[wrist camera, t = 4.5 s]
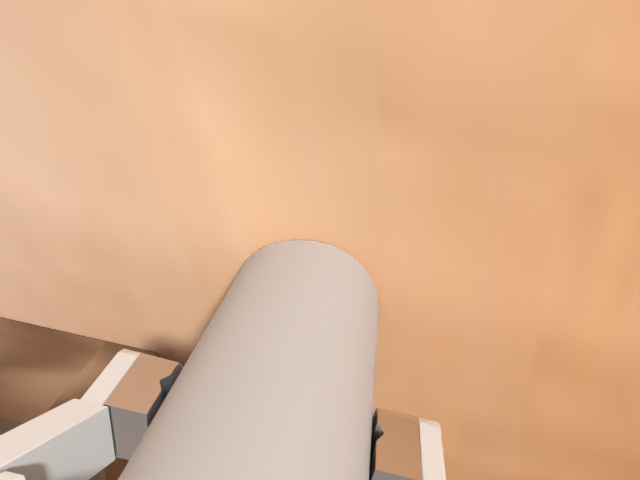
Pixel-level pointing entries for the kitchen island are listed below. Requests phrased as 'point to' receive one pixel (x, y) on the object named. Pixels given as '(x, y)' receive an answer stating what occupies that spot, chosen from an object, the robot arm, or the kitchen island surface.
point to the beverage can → (275, 377)
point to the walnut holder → (49, 374)
